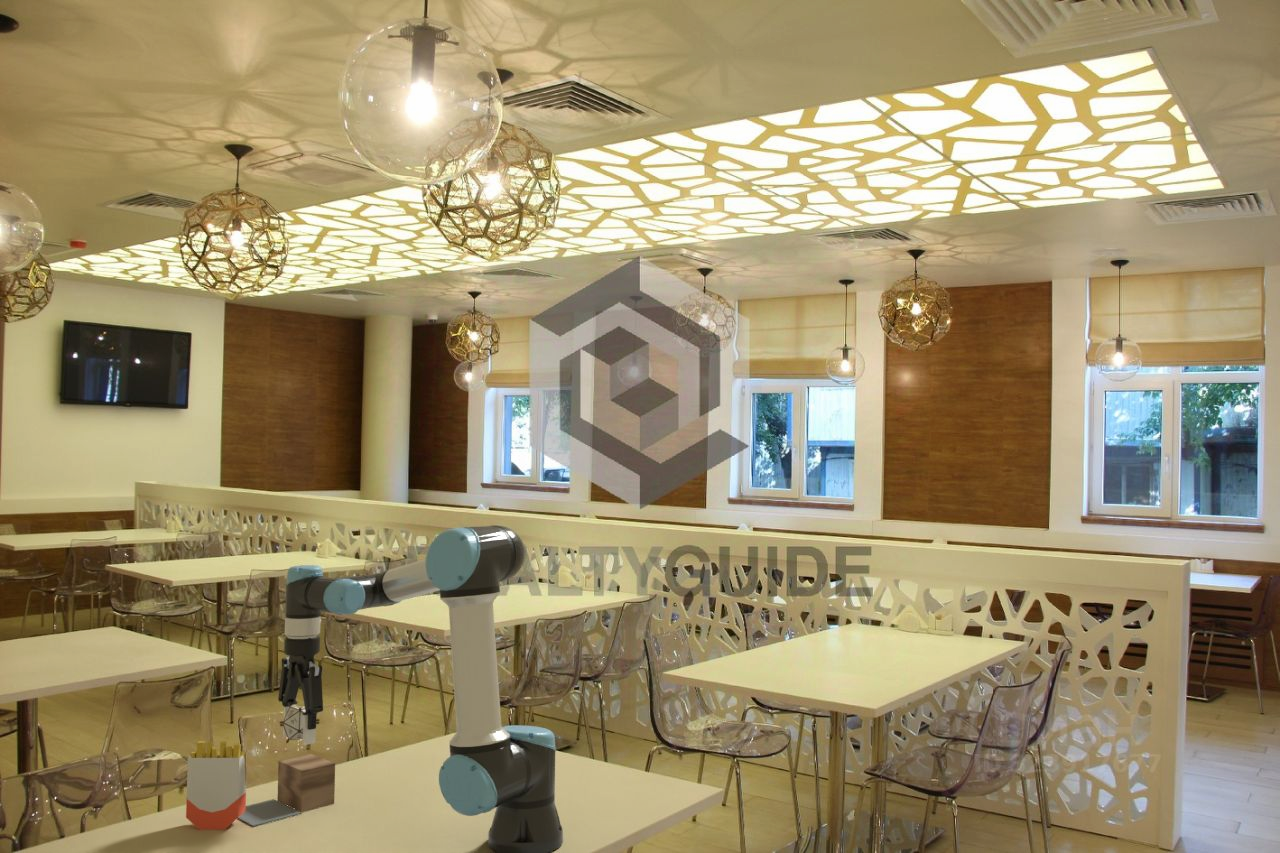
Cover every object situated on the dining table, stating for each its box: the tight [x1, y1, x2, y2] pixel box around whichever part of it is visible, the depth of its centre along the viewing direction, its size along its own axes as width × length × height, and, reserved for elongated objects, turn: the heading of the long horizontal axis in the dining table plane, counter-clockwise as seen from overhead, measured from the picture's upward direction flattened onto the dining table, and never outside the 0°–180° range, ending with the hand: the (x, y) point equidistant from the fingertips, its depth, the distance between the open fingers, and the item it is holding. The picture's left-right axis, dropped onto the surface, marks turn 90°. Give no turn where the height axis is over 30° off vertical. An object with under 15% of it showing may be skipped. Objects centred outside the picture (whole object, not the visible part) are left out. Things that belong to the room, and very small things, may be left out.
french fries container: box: [185, 740, 247, 830], centre depth 207 cm, size 5×11×18 cm, turn 91°
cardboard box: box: [277, 753, 336, 813], centre depth 222 cm, size 11×8×9 cm
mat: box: [237, 798, 303, 828], centre depth 214 cm, size 13×11×1 cm
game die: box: [278, 704, 321, 744], centre depth 215 cm, size 9×8×10 cm
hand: (299, 739), depth 214 cm, fingers closed on game die, 8 cm apart
